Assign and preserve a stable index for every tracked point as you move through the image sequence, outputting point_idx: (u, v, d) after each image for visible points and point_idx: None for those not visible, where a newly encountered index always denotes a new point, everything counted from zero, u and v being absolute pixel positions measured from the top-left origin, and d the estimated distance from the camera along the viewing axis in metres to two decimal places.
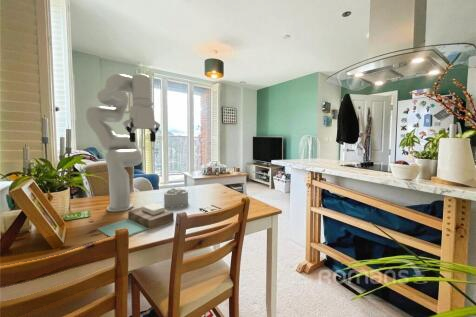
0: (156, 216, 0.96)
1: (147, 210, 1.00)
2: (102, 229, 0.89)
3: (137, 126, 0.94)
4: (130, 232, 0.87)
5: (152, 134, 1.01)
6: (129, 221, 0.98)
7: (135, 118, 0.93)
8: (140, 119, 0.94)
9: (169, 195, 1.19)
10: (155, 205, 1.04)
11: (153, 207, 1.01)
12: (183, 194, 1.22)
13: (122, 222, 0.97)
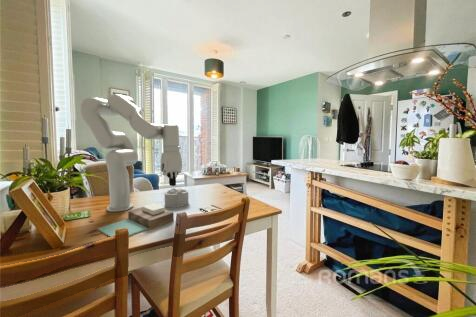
0: (156, 216, 0.96)
1: (147, 210, 1.00)
2: (102, 229, 0.89)
3: (168, 171, 1.05)
4: (130, 232, 0.87)
5: None
6: (129, 221, 0.98)
7: (166, 164, 1.04)
8: (170, 164, 1.05)
9: (170, 195, 1.19)
10: (155, 205, 1.04)
11: (153, 207, 1.01)
12: (183, 194, 1.22)
13: (122, 222, 0.97)
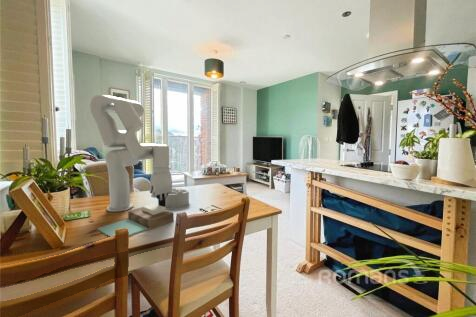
0: (156, 216, 0.96)
1: (147, 210, 1.00)
2: (102, 229, 0.89)
3: (157, 193, 1.01)
4: (130, 232, 0.87)
5: None
6: (129, 221, 0.98)
7: (156, 186, 1.00)
8: (160, 186, 1.02)
9: (170, 195, 1.19)
10: (155, 205, 1.04)
11: (153, 207, 1.01)
12: (184, 194, 1.22)
13: (122, 222, 0.97)
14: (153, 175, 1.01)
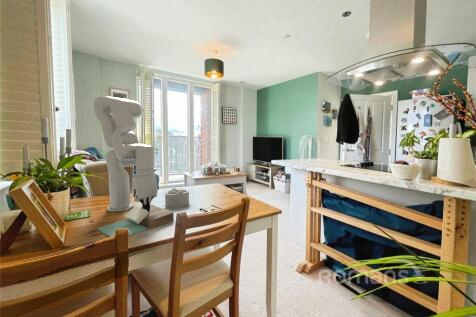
0: (156, 216, 0.96)
1: (131, 219, 0.94)
2: (102, 229, 0.89)
3: (140, 197, 0.94)
4: (130, 232, 0.87)
5: None
6: (129, 221, 0.98)
7: (138, 190, 0.93)
8: (143, 189, 0.95)
9: (170, 195, 1.19)
10: (137, 209, 0.97)
11: (135, 214, 0.94)
12: (184, 194, 1.22)
13: (122, 222, 0.97)
14: (136, 178, 0.94)
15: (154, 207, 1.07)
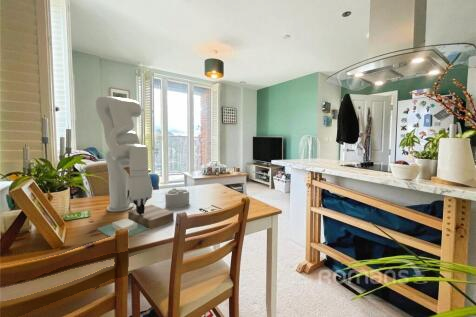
0: (156, 216, 0.96)
1: None
2: (102, 229, 0.89)
3: (134, 198, 0.92)
4: (130, 232, 0.87)
5: None
6: None
7: (132, 191, 0.91)
8: (137, 191, 0.93)
9: (171, 195, 1.19)
10: None
11: None
12: (184, 194, 1.22)
13: None
14: (129, 179, 0.92)
15: (154, 207, 1.07)
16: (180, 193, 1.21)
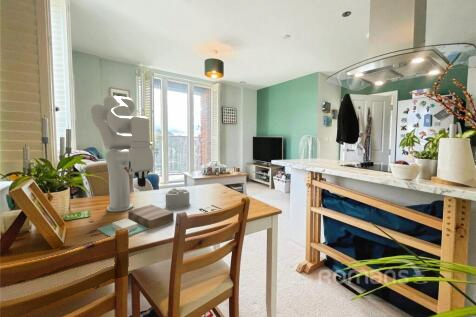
0: (156, 216, 0.96)
1: None
2: (102, 229, 0.89)
3: (135, 170, 0.92)
4: (130, 232, 0.87)
5: None
6: None
7: (133, 162, 0.91)
8: (138, 162, 0.92)
9: (171, 195, 1.19)
10: None
11: None
12: (185, 194, 1.22)
13: None
14: (131, 150, 0.91)
15: (154, 207, 1.07)
16: (180, 193, 1.21)
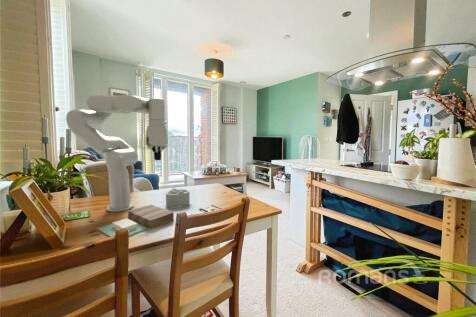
0: (156, 216, 0.96)
1: None
2: (102, 229, 0.89)
3: (153, 144, 1.05)
4: (130, 232, 0.87)
5: None
6: None
7: (151, 137, 1.04)
8: (155, 138, 1.05)
9: (171, 195, 1.19)
10: None
11: None
12: (185, 194, 1.22)
13: None
14: (149, 127, 1.04)
15: (154, 207, 1.07)
16: (181, 193, 1.21)
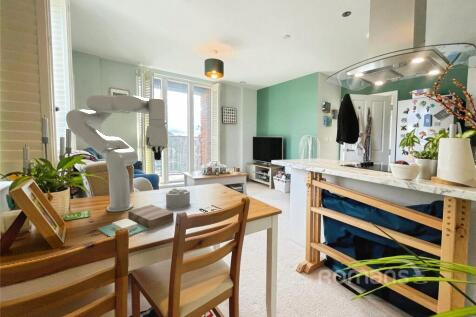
0: (156, 216, 0.96)
1: None
2: (102, 229, 0.89)
3: (153, 144, 1.05)
4: (130, 232, 0.87)
5: None
6: None
7: (151, 137, 1.04)
8: (155, 138, 1.05)
9: (171, 195, 1.19)
10: None
11: None
12: (185, 194, 1.23)
13: None
14: (149, 127, 1.04)
15: (154, 207, 1.07)
16: (181, 193, 1.21)
